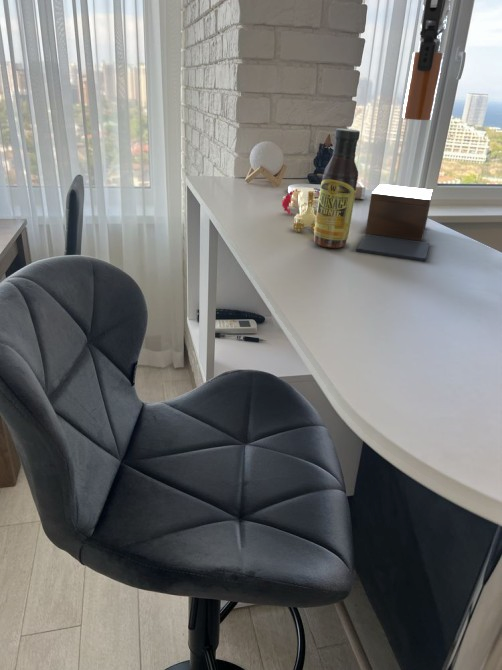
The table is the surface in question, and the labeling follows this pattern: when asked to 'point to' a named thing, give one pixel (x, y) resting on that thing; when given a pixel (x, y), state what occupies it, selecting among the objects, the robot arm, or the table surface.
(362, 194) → the record player
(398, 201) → the brown open box
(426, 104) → the spice bottle
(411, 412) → the table surface
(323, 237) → the sauce bottle
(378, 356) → the table surface
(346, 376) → the table surface
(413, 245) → the mat
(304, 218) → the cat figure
